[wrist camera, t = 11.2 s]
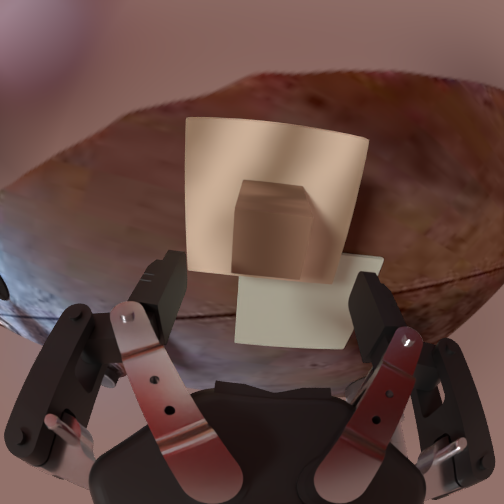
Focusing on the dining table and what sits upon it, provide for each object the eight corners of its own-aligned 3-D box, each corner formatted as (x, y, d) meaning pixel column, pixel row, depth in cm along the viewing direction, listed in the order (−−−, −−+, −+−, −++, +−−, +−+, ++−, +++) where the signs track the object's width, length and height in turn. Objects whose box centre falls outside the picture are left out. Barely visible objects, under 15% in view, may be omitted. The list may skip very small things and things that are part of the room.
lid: (364, 137, 16) (402, 157, 11) (330, 277, 23) (343, 328, 18) (190, 117, 16) (156, 127, 11) (190, 263, 23) (171, 312, 18)
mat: (382, 257, 28) (384, 259, 28) (342, 346, 37) (343, 349, 37) (241, 242, 28) (241, 244, 28) (234, 339, 37) (234, 342, 37)
